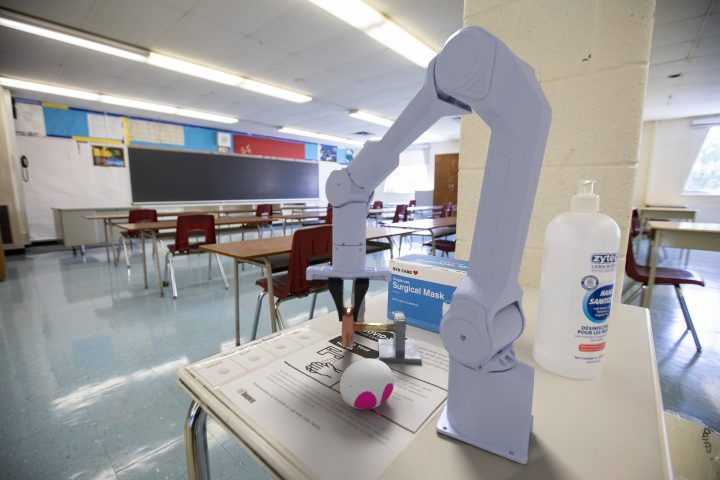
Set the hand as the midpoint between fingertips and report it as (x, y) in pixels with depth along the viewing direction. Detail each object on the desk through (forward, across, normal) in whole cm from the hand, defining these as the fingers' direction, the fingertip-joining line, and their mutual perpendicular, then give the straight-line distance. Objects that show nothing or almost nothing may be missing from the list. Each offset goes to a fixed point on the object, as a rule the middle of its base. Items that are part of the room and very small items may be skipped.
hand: (348, 319), depth 54 cm
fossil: (+6, -2, -11) cm, 13 cm away
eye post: (+6, -9, 0) cm, 11 cm away
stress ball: (+6, -4, +14) cm, 16 cm away
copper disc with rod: (+5, -5, 0) cm, 7 cm away
